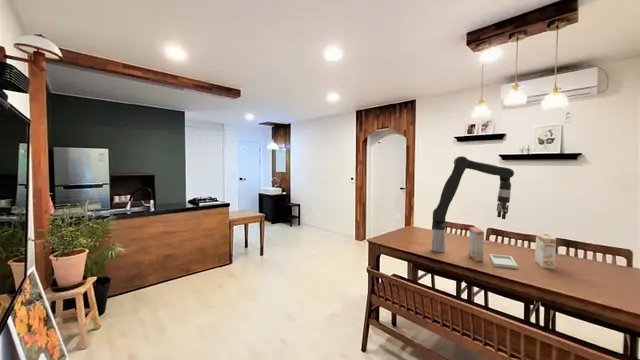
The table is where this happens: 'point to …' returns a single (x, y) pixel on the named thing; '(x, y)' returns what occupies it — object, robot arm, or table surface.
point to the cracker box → (476, 244)
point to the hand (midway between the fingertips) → (501, 218)
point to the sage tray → (503, 261)
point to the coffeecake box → (545, 250)
